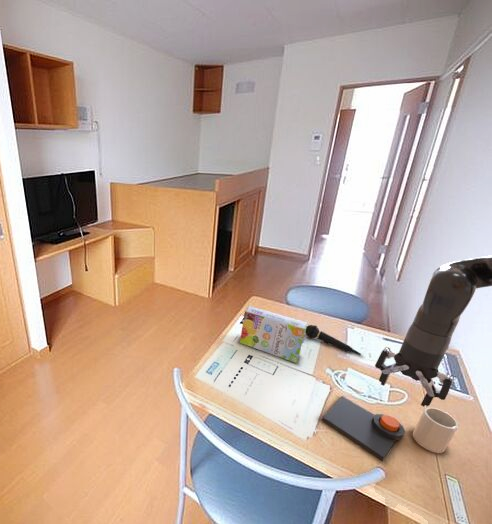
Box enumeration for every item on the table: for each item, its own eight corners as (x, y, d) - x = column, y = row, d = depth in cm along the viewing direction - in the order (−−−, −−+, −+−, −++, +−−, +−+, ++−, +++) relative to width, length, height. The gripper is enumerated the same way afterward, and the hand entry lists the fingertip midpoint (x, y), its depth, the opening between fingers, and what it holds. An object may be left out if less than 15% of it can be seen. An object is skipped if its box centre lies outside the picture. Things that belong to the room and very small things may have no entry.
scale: (404, 434, 84) (408, 426, 83) (387, 464, 77) (390, 456, 76) (342, 397, 96) (344, 390, 95) (321, 420, 88) (324, 412, 87)
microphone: (357, 359, 117) (303, 333, 129) (364, 346, 116) (309, 321, 127) (356, 363, 113) (301, 335, 124) (364, 349, 112) (307, 323, 123)
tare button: (399, 426, 84) (401, 422, 83) (394, 434, 81) (396, 429, 81) (382, 416, 87) (384, 412, 86) (377, 424, 84) (379, 419, 84)
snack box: (299, 355, 115) (308, 321, 109) (296, 364, 110) (305, 329, 104) (243, 336, 126) (248, 304, 120) (238, 343, 121) (244, 310, 115)
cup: (447, 443, 82) (461, 419, 78) (441, 458, 78) (455, 433, 75) (416, 426, 87) (428, 403, 83) (409, 439, 83) (421, 415, 80)
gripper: (384, 334, 77) (365, 383, 83) (462, 366, 66) (434, 420, 72) (394, 324, 81) (376, 372, 87) (469, 352, 70) (442, 404, 76)
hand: (402, 393), depth 80 cm, fingers open, 8 cm apart
